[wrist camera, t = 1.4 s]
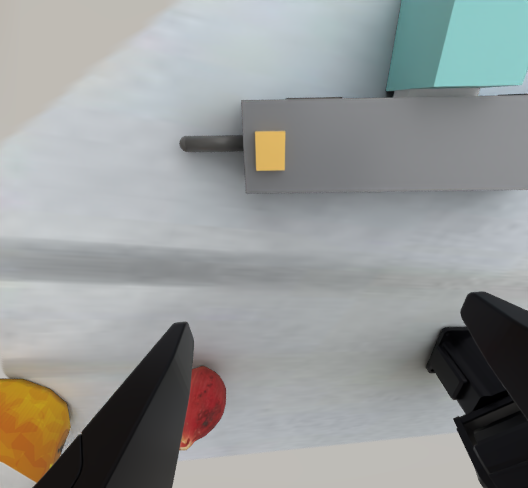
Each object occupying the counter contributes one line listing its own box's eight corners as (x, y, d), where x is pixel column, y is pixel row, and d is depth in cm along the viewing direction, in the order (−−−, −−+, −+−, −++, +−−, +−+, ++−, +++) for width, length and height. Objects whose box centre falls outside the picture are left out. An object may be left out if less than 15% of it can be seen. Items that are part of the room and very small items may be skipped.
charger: (477, -15, 15) (582, -74, 10) (438, 125, 18) (502, 134, 13) (403, -14, 15) (472, -71, 10) (379, 126, 18) (421, 135, 13)
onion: (216, 344, 28) (199, 425, 21) (238, 377, 31) (229, 459, 24) (168, 357, 29) (137, 439, 22) (194, 388, 32) (173, 469, 25)
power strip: (556, 93, 17) (648, 91, 13) (521, 173, 19) (589, 192, 15) (177, 100, 17) (150, 100, 13) (189, 177, 20) (169, 197, 16)
